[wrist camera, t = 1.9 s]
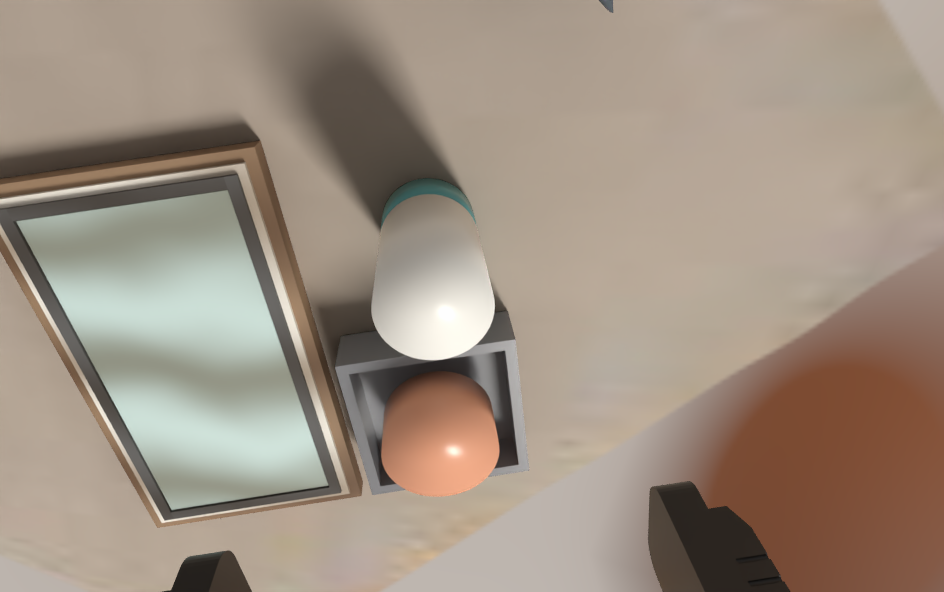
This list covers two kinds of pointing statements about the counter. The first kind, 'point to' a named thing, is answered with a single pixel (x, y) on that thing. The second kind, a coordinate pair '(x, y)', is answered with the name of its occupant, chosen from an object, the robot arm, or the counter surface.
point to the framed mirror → (184, 328)
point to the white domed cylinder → (431, 273)
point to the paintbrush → (608, 4)
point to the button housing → (383, 369)
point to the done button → (439, 434)
